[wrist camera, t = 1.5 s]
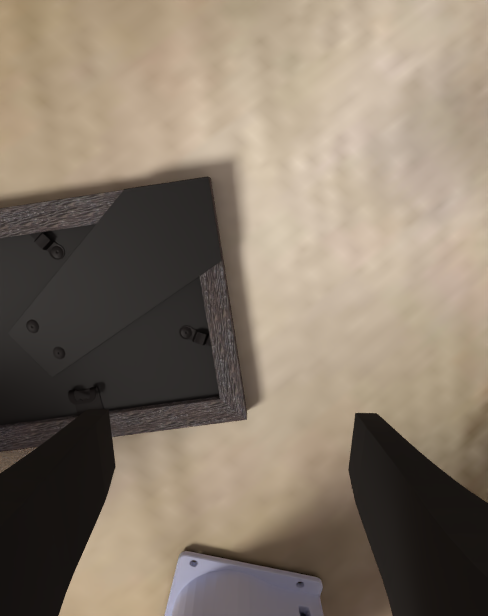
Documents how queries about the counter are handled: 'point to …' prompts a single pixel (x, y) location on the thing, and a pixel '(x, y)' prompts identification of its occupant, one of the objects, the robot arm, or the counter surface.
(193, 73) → the counter surface
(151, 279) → the picture frame
